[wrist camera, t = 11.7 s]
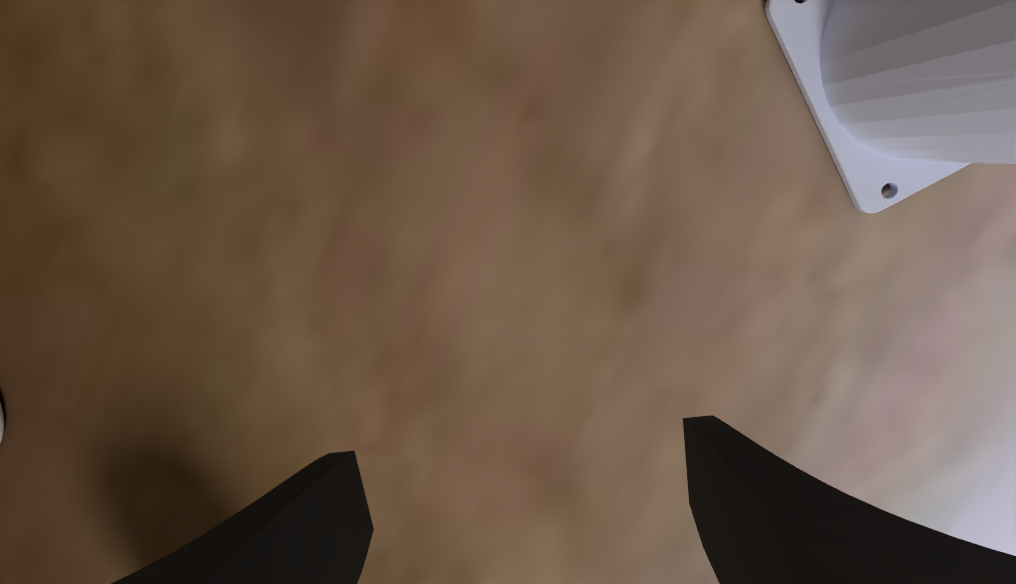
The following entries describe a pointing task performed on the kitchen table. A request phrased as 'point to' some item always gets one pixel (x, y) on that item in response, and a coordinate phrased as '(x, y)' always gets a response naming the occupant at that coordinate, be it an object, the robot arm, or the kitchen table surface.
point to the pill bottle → (1, 423)
